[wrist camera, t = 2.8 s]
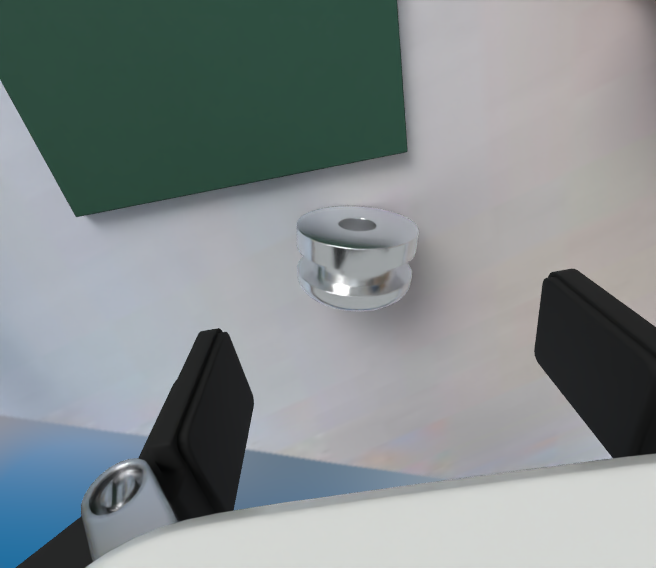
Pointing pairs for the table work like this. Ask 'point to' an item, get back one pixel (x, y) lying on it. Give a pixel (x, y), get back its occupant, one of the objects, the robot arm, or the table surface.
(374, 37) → the desk mat
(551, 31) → the table surface
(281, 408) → the table surface
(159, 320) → the table surface
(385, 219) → the grooved metal pulley
